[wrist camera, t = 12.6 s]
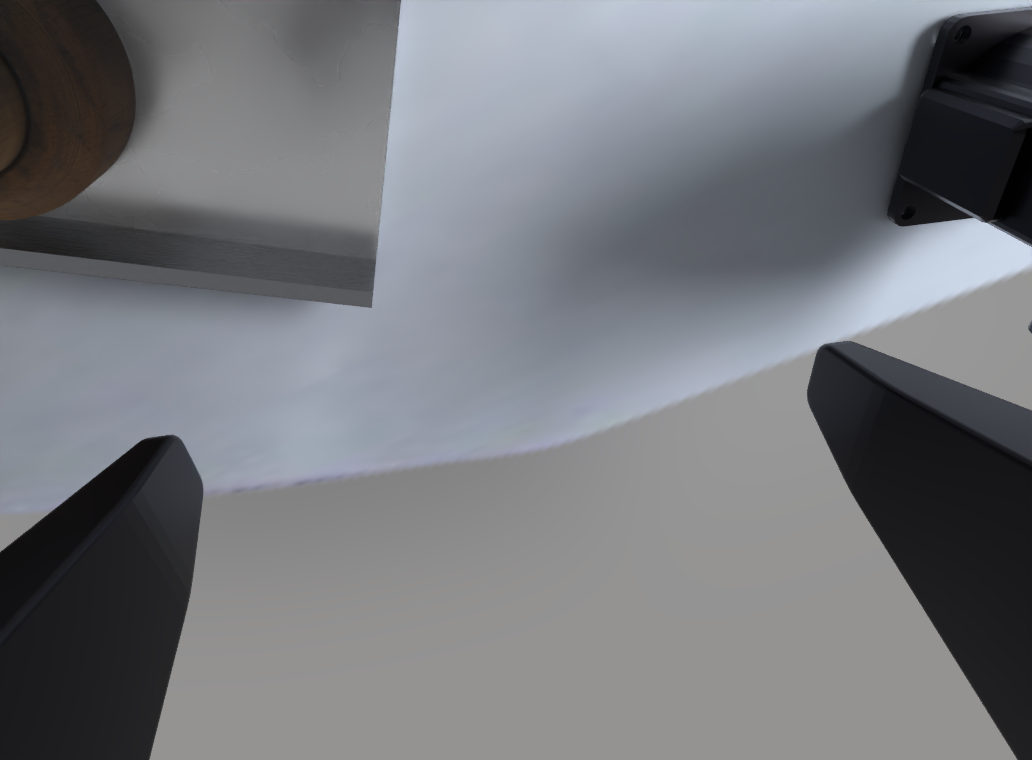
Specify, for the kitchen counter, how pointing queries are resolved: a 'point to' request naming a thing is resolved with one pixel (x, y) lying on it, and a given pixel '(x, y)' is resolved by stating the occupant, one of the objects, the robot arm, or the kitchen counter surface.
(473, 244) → the kitchen counter surface
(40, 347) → the kitchen counter surface
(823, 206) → the kitchen counter surface
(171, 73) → the floor track
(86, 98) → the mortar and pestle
